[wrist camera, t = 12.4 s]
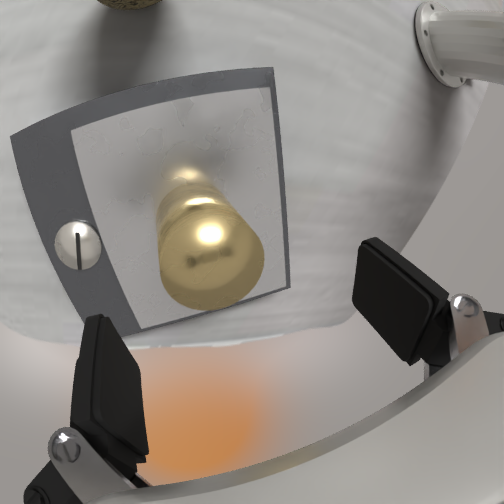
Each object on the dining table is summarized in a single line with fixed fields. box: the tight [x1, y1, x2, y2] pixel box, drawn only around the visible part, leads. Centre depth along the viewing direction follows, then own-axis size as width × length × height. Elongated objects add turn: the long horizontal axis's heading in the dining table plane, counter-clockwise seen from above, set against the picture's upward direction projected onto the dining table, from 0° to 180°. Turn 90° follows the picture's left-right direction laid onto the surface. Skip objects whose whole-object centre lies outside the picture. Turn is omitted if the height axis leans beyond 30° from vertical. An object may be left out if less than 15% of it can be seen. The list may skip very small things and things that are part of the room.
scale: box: [10, 67, 291, 337], centre depth 19 cm, size 18×18×4 cm
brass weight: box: [156, 182, 265, 311], centre depth 15 cm, size 5×5×6 cm
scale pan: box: [71, 87, 286, 329], centre depth 18 cm, size 12×15×1 cm
